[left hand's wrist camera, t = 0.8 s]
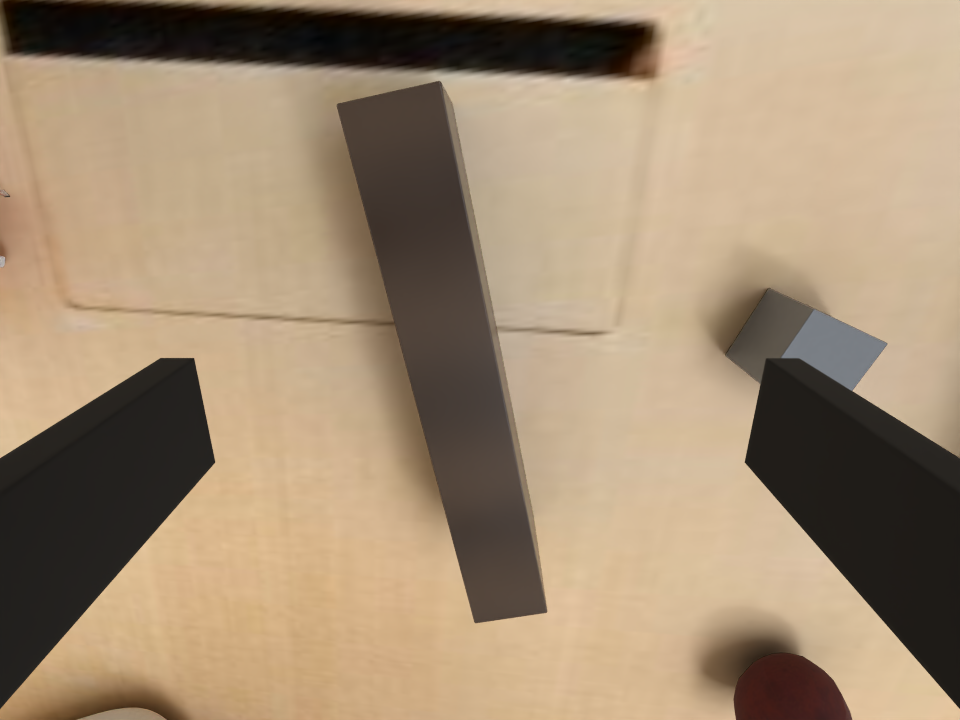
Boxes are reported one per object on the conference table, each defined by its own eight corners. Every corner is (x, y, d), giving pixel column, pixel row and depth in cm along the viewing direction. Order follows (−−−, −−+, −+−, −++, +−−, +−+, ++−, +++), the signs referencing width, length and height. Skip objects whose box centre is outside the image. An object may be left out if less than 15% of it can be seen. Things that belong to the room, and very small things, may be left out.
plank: (375, 118, 27) (335, 104, 20) (451, 101, 27) (440, 80, 19) (476, 527, 36) (474, 623, 29) (534, 518, 36) (547, 613, 29)
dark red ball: (707, 700, 42) (749, 801, 35) (732, 626, 39) (783, 721, 33) (798, 706, 42) (857, 808, 36) (830, 633, 39) (900, 729, 33)
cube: (768, 287, 30) (814, 308, 26) (833, 318, 31) (888, 343, 27) (724, 355, 32) (761, 385, 28) (787, 383, 32) (833, 416, 28)
